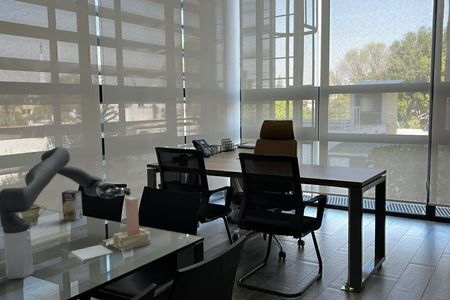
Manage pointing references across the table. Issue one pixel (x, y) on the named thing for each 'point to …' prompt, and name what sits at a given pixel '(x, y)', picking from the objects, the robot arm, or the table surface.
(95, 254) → the mat
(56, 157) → the robot arm
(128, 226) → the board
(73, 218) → the coffee box
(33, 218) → the ceramic cup
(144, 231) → the rack
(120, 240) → the offcut stack
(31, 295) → the table surface
